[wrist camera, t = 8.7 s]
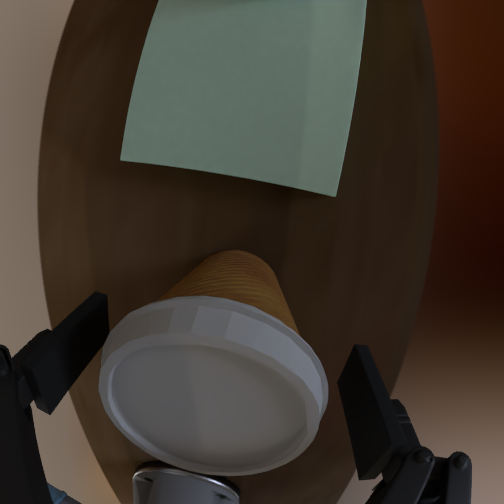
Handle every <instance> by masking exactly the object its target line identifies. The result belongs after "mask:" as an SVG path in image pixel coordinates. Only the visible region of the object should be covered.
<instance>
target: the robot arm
mask: <svg viewBox="0 0 504 504" xmlns="http://www.w3.org/2000/svg"><path fill="white" fill-rule="evenodd" d="M109 333H110V332H109V319H108V302H107V295H106V294H102V293H99V292H96V291H95V292H94V293H93V294H92V295H91V296H90V297H88V298H87V299H86V300H85V301H84V302H83V303H82V304H81V305H79V306H78V307H77V308H76V309H75V310H74V311H73V312H72V313H71V314H69V315H68V316H67V317H66V318H65V319H64V320H63V321H62V322H61V323H60V324H59V325H58V326H56V327H55V328H54V329H53V330H52V331H51V330H49V329H46V330H44V331H41V332H39V333H38V334H37V335H36V336H35V337H34V338H33V339H32V340H30V341H29V342H28V343H27V345H25V346H24V347H23V348H22V349H21V350H20V351H19V352H18V353H17V354H16V355H14V357H12V358H11V355H10V352H9V349H8V348H7V347H6V346H4V345H0V504H81V503H80V502H78V501H76V500H74V499H73V498H71V497H70V496H68V495H67V494H66V493H65V492H64V491H60V490H59V489H57V488H55V487H54V486H52V485H50V484H49V483H47V481H46V478H45V474H44V470H43V466H42V462H41V458H40V454H39V449H38V444H37V440H36V434H35V428H34V422H33V415H32V409H31V406H30V403H31V402H32V401H33V400H34V401H35V403H36V406H37V408H38V409H40V410H42V411H43V412H45V413H47V414H49V415H51V413H52V412H53V411H54V409H55V408H56V407H57V405H58V404H59V402H60V401H61V400H62V398H63V397H64V396H65V394H66V393H67V391H68V390H69V389H70V387H71V386H72V385H73V383H74V382H75V381H76V379H77V378H78V377H79V375H80V374H81V373H82V371H83V370H84V369H85V368H86V366H87V365H88V364H89V362H90V361H91V360H92V359H93V357H94V356H95V355H96V353H97V352H98V351H99V350H100V348H101V347H102V346H103V345H104V343H105V341H106V339H107V337H108V335H109ZM337 384H338V388H339V392H340V396H341V400H342V404H343V408H344V413H345V417H346V421H347V426H348V430H349V435H350V439H351V444H352V448H353V453H354V458H355V463H356V467H357V472H358V477H359V480H369V479H375V478H376V477H377V476H378V475H379V474H380V473H381V472H382V476H383V479H382V480H381V481H380V482H379V483H378V484H377V485H376V486H375V487H374V488H373V489H372V490H373V491H374V492H373V493H372V495H371V496H370V498H369V499H368V501H367V502H366V503H365V504H471V485H472V463H471V460H470V458H469V456H468V455H466V454H465V453H463V452H454V453H453V454H452V455H451V456H450V457H449V458H443V457H435V456H434V454H433V453H432V451H431V450H429V449H428V448H426V447H423V446H421V445H420V443H419V440H418V438H417V435H416V433H415V430H414V428H413V426H412V423H410V422H411V421H410V418H409V417H408V414H407V411H406V409H405V407H404V406H403V405H402V404H401V403H400V401H399V400H398V399H395V400H394V399H393V400H392V399H390V397H389V395H388V392H387V390H386V387H385V385H384V383H383V380H382V378H381V376H380V373H379V371H378V369H377V366H376V364H375V362H374V360H373V357H372V355H371V353H370V351H369V348H368V346H365V345H356V344H354V347H353V349H352V351H351V354H350V356H349V358H348V360H347V362H346V365H345V367H344V369H343V371H342V373H341V375H340V378H339V380H338V382H337ZM133 499H134V504H240V491H239V489H238V488H237V486H236V485H234V484H233V483H232V482H230V481H229V480H227V479H225V478H223V477H221V476H219V475H209V474H202V473H197V472H193V471H189V470H185V469H182V468H179V467H176V466H173V465H171V464H168V463H166V462H148V463H144V464H141V465H139V466H138V467H137V469H136V471H135V474H134V477H133Z"/></svg>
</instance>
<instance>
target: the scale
mask: <svg viewBox="0 0 504 504" xmlns="http://www.w3.org/2000/svg"><path fill="white" fill-rule="evenodd" d="M366 2H367V0H159V1H158V4H157V7H156V10H155V13H154V15H153V18H152V21H151V24H150V28H149V31H148V34H147V37H146V41H145V44H144V47H143V51H142V54H141V58H140V62H139V66H138V70H137V74H136V78H135V82H134V86H133V91H132V95H131V100H130V105H129V110H128V115H127V120H126V126H125V132H124V138H123V144H122V151H121V158H120V160H122V161H131V162H140V163H149V164H157V165H165V166H172V167H179V168H187V169H193V170H200V171H206V172H213V173H219V174H225V175H231V176H236V177H242V178H247V179H253V180H258V181H263V182H269V183H274V184H279V185H283V186H288V187H293V188H298V189H302V190H307V191H311V192H316V193H320V194H324V195H329V196H333V197H335V196H336V192H337V188H338V183H339V179H340V174H341V169H342V165H343V160H344V155H345V150H346V144H347V139H348V134H349V129H350V123H351V117H352V112H353V106H354V99H355V93H356V87H357V80H358V73H359V66H360V58H361V51H362V42H363V33H364V24H365V14H366Z"/></svg>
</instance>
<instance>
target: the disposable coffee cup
mask: <svg viewBox="0 0 504 504" xmlns="http://www.w3.org/2000/svg"><path fill="white" fill-rule="evenodd" d="M99 393H100V396H101V400H102V403H103V406H104V409H105V411H106V413H107V414H108V416H109V417H110V419H111V420H112V422H113V423H114V425H115V426H116V427H117V428H118V429H119V430H120V431H121V432H122V433H123V435H124V436H125V437H126V438H128V439H129V440H130V441H132V442H133V443H134V444H136V445H137V446H138V447H140V448H141V449H142V450H144V451H145V452H147V453H148V454H150V455H152V456H153V457H155V458H157V459H159V460H161V461H163V462H166V463H168V464H171V465H173V466H176V467H179V468H182V469H185V470H189V471H193V472H197V473H202V474H209V475H220V476H239V475H250V474H256V473H261V472H265V471H269V470H272V469H274V468H277V467H279V466H282V465H284V464H286V463H288V462H290V461H291V460H293V459H295V458H296V457H298V456H299V455H300V454H301V453H303V452H304V451H305V450H306V448H307V447H308V446H309V445H310V444H311V442H312V441H313V440H314V437H315V435H316V433H317V431H318V427H319V422H320V420H321V418H322V416H323V414H324V412H325V409H326V405H327V401H328V382H327V379H326V375H325V372H324V369H323V367H322V365H321V362H320V360H319V359H318V357H317V356H316V354H315V353H314V352H313V350H312V349H311V347H310V346H309V345H308V344H307V343H306V342H305V341H304V340H303V339H302V338H301V337H300V335H299V332H298V330H297V327H296V325H295V322H294V319H293V318H292V315H291V313H290V310H289V308H288V305H287V302H286V300H285V298H284V295H283V293H282V291H281V288H280V286H279V283H278V280H277V278H276V276H275V274H274V272H273V270H272V269H271V267H270V266H269V265H268V264H267V263H266V262H264V261H263V260H262V259H261V258H259V257H257V256H256V255H254V254H251V253H249V252H246V251H241V250H226V251H220V252H218V253H215V254H213V255H211V256H209V257H208V258H206V259H205V260H204V261H203V262H202V263H201V264H199V265H198V266H197V267H196V268H195V269H194V270H192V271H191V272H190V273H189V274H188V275H186V276H185V277H184V278H183V279H182V280H181V281H179V282H178V283H177V284H176V285H175V286H173V287H172V288H171V289H170V290H169V291H168V292H167V293H165V294H164V295H163V296H162V297H161V298H160V299H158V300H157V301H156V302H152V303H150V304H148V305H146V306H144V307H141V308H139V309H137V310H135V311H132V312H130V313H129V314H128V315H126V316H125V317H124V318H123V319H122V320H121V321H120V322H119V323H118V324H117V325H116V326H115V327H114V328H113V329H112V330H111V331H110V333H109V335H108V337H107V339H106V341H105V344H104V346H103V350H102V356H101V370H100V379H99Z"/></svg>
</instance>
